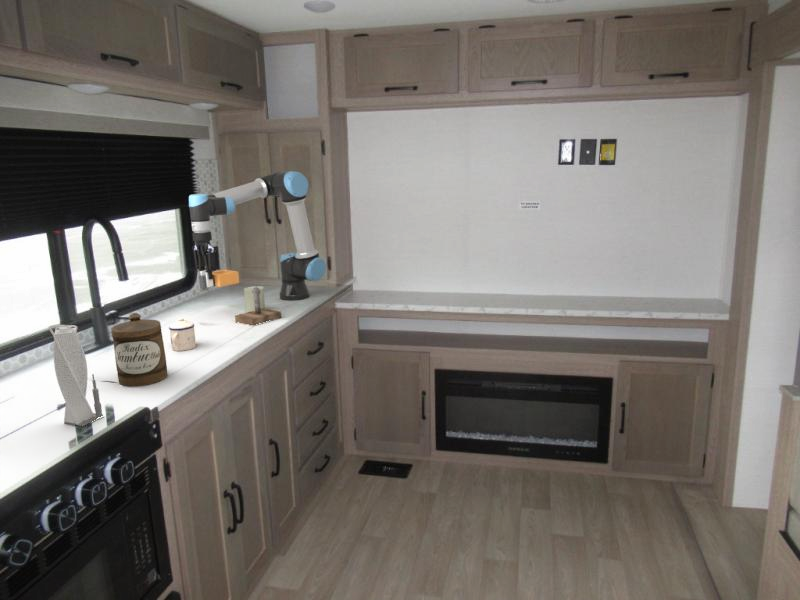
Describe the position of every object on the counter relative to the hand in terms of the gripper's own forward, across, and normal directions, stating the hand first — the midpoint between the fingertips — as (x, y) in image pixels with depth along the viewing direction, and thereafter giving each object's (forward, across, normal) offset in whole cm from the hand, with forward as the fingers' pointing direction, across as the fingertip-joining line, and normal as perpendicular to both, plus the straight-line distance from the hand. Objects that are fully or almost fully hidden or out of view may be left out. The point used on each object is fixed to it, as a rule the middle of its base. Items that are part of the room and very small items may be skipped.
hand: (207, 286), depth 254 cm
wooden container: (+17, +39, -53) cm, 68 cm away
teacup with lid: (+17, +21, -27) cm, 39 cm away
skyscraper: (+17, +56, -81) cm, 100 cm away
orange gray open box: (0, 0, +5) cm, 5 cm away
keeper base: (+17, +11, +16) cm, 26 cm away
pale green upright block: (+18, -2, +25) cm, 31 cm away
